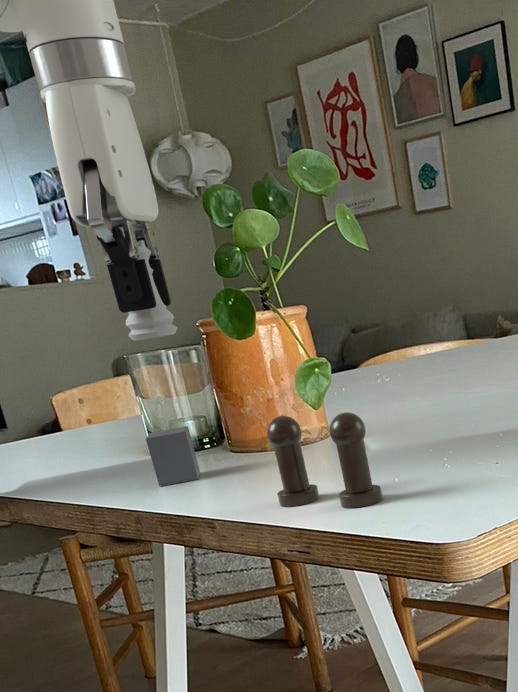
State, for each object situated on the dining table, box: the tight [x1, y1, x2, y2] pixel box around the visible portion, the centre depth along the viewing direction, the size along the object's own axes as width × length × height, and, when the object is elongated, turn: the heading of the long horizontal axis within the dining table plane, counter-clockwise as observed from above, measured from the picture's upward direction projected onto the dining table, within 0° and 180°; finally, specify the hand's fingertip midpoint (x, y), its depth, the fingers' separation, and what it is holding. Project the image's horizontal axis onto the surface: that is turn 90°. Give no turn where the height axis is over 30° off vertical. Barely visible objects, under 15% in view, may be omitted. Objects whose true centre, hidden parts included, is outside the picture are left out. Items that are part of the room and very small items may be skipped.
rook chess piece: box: [125, 240, 178, 342], centre depth 83 cm, size 4×4×8 cm
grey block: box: [145, 425, 201, 487], centre depth 97 cm, size 4×4×5 cm
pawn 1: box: [266, 415, 320, 508], centre depth 78 cm, size 3×3×7 cm
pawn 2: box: [329, 411, 384, 509], centre depth 74 cm, size 3×3×7 cm
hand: (146, 306), depth 84 cm, fingers closed on rook chess piece, 3 cm apart
